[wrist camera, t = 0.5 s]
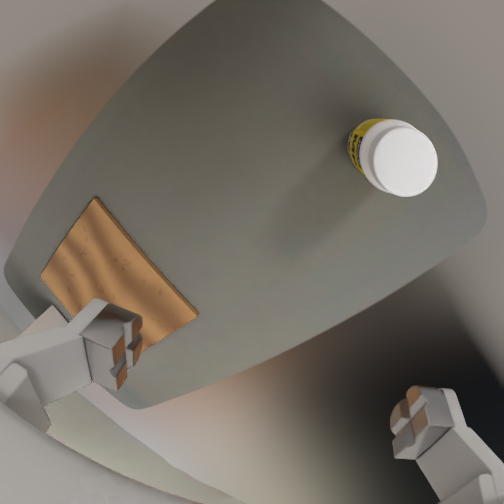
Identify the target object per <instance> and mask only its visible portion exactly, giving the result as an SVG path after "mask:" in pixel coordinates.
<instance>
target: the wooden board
mask: <svg viewBox="0 0 504 504" xmlns="http://www.w3.org/2000/svg"><path fill="white" fill-rule="evenodd" d="M40 277H41V278H42V280H43V281H44V282H45V284H46V285H47V286H48V287H49V288H50V290H51V291H52V292H53V293H54V295H55V296H56V297H57V298H58V299H59V301H60V302H61V303H62V304H63V305H64V306H65V308H66V309H67V310H68V311H69V312H70V313H71V315H72V316H73V317H75V316H76V315H77V314H78V313H79V312H80V311H81V310H82V309H83V308H84V307H85V306H86V305H87V304H88V303H89V302H90V301H91V300H92V299H94V298H97V297H98V298H100V299H102V300H104V301H107V302H109V303H112V304H115V305H117V306H119V307H122V308H124V309H127V310H129V311H132V312H134V313H137V314H139V315H141V316H142V317H143V327H142V328H141V329H140V331H139V332H140V334H141V335H142V337H143V345H142V350H141V352H142V351H144V350H145V349H147V348H148V347H150V346H152V345H153V344H155V343H156V342H158V341H160V340H161V339H163V338H164V337H166V336H168V335H169V334H171V333H172V332H174V331H176V330H177V329H179V328H180V327H182V326H184V325H185V324H187V323H188V322H190V321H191V320H193V319H195V318H196V317H198V315H199V313H198V312H197V311H196V310H195V309H194V308H193V307H192V306H191V305H190V304H189V302H188V301H187V300H186V299H185V298H184V297H183V296H182V295H181V294H180V293H179V292H178V291H177V290H176V289H175V287H174V286H173V285H172V284H171V283H170V282H169V281H168V280H167V279H166V278H165V277H164V275H163V274H162V273H161V272H160V271H159V270H158V269H157V268H156V266H155V265H154V264H153V263H152V262H151V261H150V260H149V259H148V257H147V256H146V255H145V254H144V253H143V252H142V251H141V249H140V248H139V247H138V246H137V245H136V244H135V242H134V241H133V240H132V239H131V238H130V237H129V235H128V234H127V233H126V232H125V231H124V229H123V228H122V227H121V226H120V225H119V223H118V222H117V221H116V220H115V219H114V217H113V216H112V215H111V214H110V212H109V211H108V210H107V209H106V207H105V206H104V205H103V204H102V203H101V201H100V200H99V199H98V197H96V198H94V199H93V200H92V202H91V203H90V204H89V206H88V207H87V208H86V210H85V211H84V212H83V214H82V215H81V216H80V218H79V219H78V220H77V222H76V223H75V225H74V226H73V227H72V229H71V230H70V232H69V233H68V235H67V236H66V237H65V239H64V240H63V242H62V243H61V245H60V246H59V248H58V249H57V251H56V252H55V254H54V255H53V257H52V258H51V260H50V262H49V263H48V265H47V266H46V268H45V269H44V271H43V273H42V274H41V276H40Z"/></svg>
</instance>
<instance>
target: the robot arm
mask: <svg viewBox="0 0 504 504" xmlns="http://www.w3.org/2000/svg"><path fill="white" fill-rule="evenodd" d="M142 327H143V317H142V316H141V315H139V314H137V313H134V312H132V311H129V310H127V309H124V308H122V307H119V306H117V305H115V304H112V303H109V302H107V301H104V300H102V299H100V298H98V297H97V298H94V299H92V300H91V301H90V302H89V303H88V304H87V305H86V306H85V307H84V308H83V309H82V310H81V311H80V312H79V313H78V314H77V315H76V316H75V317H74V318H73V319H72V320H71V321H70V322H69V323H68V324H67V325H66V326H65V327H62V326H58V327H54V328H51V329H47V330H44V331H40V332H36V333H33V334H29V335H26V336H22V337H19V338H15V339H11V340H8V341H4V342H0V504H202V503H199V502H195V501H192V500H189V499H186V498H182V497H179V496H176V495H173V494H170V493H168V492H165V491H162V490H159V489H156V488H154V487H151V486H149V485H146V484H144V483H141V482H139V481H136V480H134V479H131V478H129V477H127V476H124V475H122V474H120V473H118V472H116V471H113V470H111V469H109V468H107V467H105V466H103V465H101V464H99V463H97V462H95V461H93V460H91V459H89V458H87V457H85V456H84V455H82V454H80V453H78V452H76V451H75V450H73V449H71V448H69V447H68V446H66V445H64V444H62V443H61V442H59V441H57V440H56V439H54V438H53V437H51V436H49V435H48V434H46V433H45V432H46V431H47V429H48V428H49V426H50V425H51V423H50V419H49V417H48V415H47V413H46V411H45V409H44V406H46V405H48V404H50V403H52V402H54V401H56V400H58V399H61V398H63V397H65V396H67V395H69V394H71V393H73V392H75V391H77V390H79V389H80V388H83V387H85V386H86V385H89V384H91V383H92V381H93V382H95V383H97V384H99V385H102V386H104V387H106V388H108V389H111V390H113V391H115V392H118V390H119V389H120V387H121V386H122V384H123V383H124V381H125V379H126V378H127V369H128V368H131V367H133V366H134V365H135V364H136V362H137V360H138V358H139V356H140V353H141V350H142V345H143V337H142V335H141V334H140V332H139V331H140V329H141V328H142ZM390 426H391V430H392V432H393V433H394V434H395V435H396V436H395V438H394V439H393V449H394V457H395V458H398V459H417V460H416V462H417V463H418V465H419V467H420V468H421V470H422V471H423V473H424V474H425V476H426V478H427V479H428V481H429V482H430V484H431V486H432V487H433V489H434V491H435V492H436V494H437V496H438V497H439V499H440V500H441V502H439V503H438V504H504V464H503V463H502V461H501V460H500V459H499V458H498V457H497V456H496V455H495V454H494V453H493V452H492V450H491V449H490V448H489V447H488V446H487V445H486V444H485V443H484V442H483V441H482V440H481V439H480V438H479V437H478V436H477V434H476V433H475V432H474V431H473V430H472V429H471V428H467V426H466V423H465V420H464V417H463V414H462V411H461V408H460V405H459V402H458V399H457V396H456V394H455V392H454V391H453V390H452V389H443V388H433V387H425V386H417V385H414V386H412V387H411V388H410V389H409V390H408V391H407V393H406V399H404V400H402V401H400V402H399V403H398V404H397V405H396V406H395V408H394V409H393V412H392V415H391V419H390Z"/></svg>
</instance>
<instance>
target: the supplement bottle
mask: <svg viewBox="0 0 504 504" xmlns="http://www.w3.org/2000/svg"><path fill="white" fill-rule="evenodd" d="M348 153H349V156H350V159H351V161H352V163H353V164H354V165H355V167H356V168H357V169H358V170H359V171H360V172H361V173H362V174H363V175H364V176H365V177H366V179H367V180H369V181H370V183H371V184H373V185H374V186H375V187H377V188H378V189H380V190H382V191H385V192H388V193H392V194H394V195H397V196H402V197H410V196H415V195H418V194H420V193H421V192H423V191H424V190H426V189H427V188H428V187H429V186H430V184H431V183H432V182H433V180H434V178H435V175H436V172H437V155H436V151H435V148H434V146H433V144H432V143H431V141H430V140H429V139H428V138H427V137H426V136H425V135H424V134H423V133H421V132H420V131H418V130H417V129H416V128H414V127H413V126H412V125H410V124H408V123H406V122H404V121H401V120H396V119H368V120H365V121H363V122H361V123H359V124H358V125H357V126H356V127H355V128H354V129H353V130H352V132H351V134H350V136H349V140H348Z"/></svg>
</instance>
